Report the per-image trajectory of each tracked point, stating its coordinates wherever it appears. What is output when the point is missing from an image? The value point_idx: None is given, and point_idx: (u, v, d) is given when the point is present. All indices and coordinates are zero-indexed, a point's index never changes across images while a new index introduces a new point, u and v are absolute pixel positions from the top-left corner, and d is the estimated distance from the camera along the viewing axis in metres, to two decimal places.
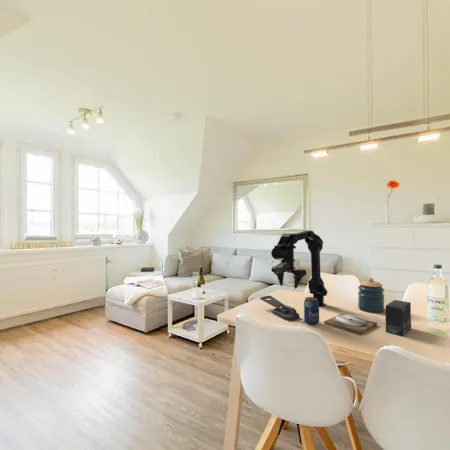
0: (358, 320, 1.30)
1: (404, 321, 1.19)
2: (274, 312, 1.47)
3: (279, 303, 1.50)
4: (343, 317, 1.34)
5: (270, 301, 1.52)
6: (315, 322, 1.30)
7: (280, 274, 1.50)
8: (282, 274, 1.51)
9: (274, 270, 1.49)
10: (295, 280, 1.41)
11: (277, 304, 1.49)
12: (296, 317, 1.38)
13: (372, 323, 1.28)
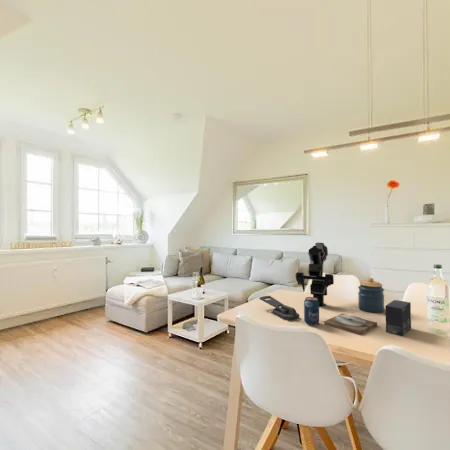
0: (358, 320, 1.30)
1: (404, 321, 1.19)
2: (274, 312, 1.47)
3: (278, 303, 1.50)
4: (343, 317, 1.34)
5: (269, 301, 1.52)
6: (315, 322, 1.30)
7: None
8: (304, 283, 1.47)
9: (300, 274, 1.46)
10: (325, 283, 1.40)
11: (276, 304, 1.49)
12: (296, 317, 1.39)
13: (372, 323, 1.28)
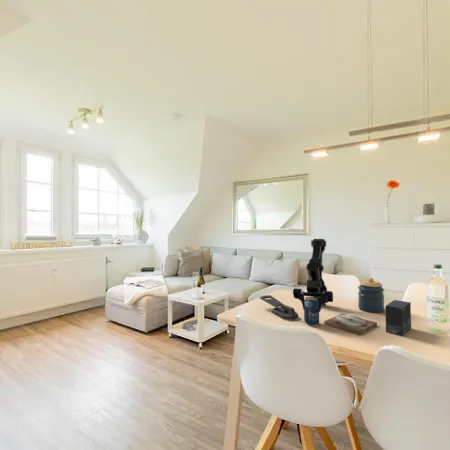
0: (358, 320, 1.30)
1: (404, 321, 1.19)
2: (273, 311, 1.48)
3: (278, 303, 1.51)
4: (343, 317, 1.34)
5: (269, 300, 1.53)
6: (315, 322, 1.30)
7: None
8: (304, 300, 1.38)
9: (298, 290, 1.38)
10: (321, 301, 1.32)
11: (276, 303, 1.50)
12: (295, 316, 1.39)
13: (372, 323, 1.28)
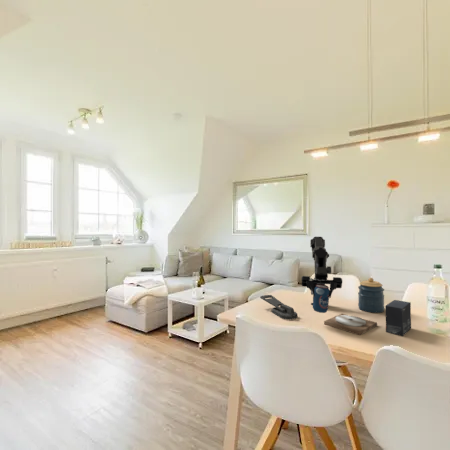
0: (358, 320, 1.30)
1: (404, 321, 1.19)
2: (273, 311, 1.49)
3: (278, 302, 1.52)
4: (343, 317, 1.34)
5: (270, 300, 1.54)
6: (325, 309, 1.29)
7: None
8: None
9: (306, 278, 1.36)
10: (331, 287, 1.31)
11: (276, 303, 1.50)
12: (294, 316, 1.40)
13: (372, 323, 1.28)
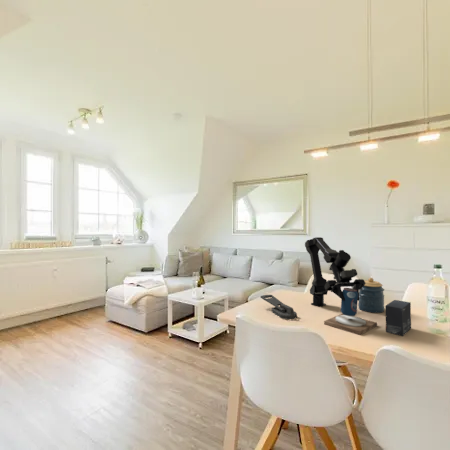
0: (358, 320, 1.30)
1: (404, 321, 1.19)
2: (273, 311, 1.49)
3: (278, 302, 1.52)
4: (343, 317, 1.34)
5: (270, 300, 1.55)
6: (356, 313, 1.29)
7: None
8: None
9: (333, 282, 1.32)
10: (357, 290, 1.32)
11: (276, 303, 1.51)
12: (293, 316, 1.40)
13: (372, 323, 1.28)
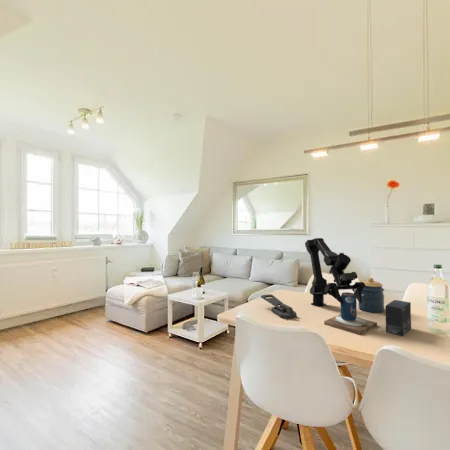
0: (358, 320, 1.30)
1: (404, 321, 1.19)
2: (272, 310, 1.50)
3: (278, 302, 1.53)
4: None
5: (270, 299, 1.55)
6: (355, 317, 1.29)
7: None
8: None
9: (334, 285, 1.32)
10: (360, 293, 1.32)
11: (276, 303, 1.51)
12: (293, 316, 1.40)
13: (372, 323, 1.28)
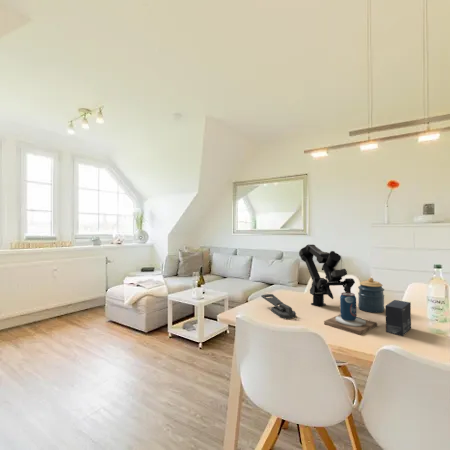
0: (358, 320, 1.30)
1: (404, 321, 1.19)
2: (272, 310, 1.51)
3: (278, 301, 1.54)
4: None
5: (270, 299, 1.56)
6: (355, 317, 1.29)
7: None
8: None
9: (325, 281, 1.41)
10: (349, 288, 1.41)
11: (276, 302, 1.52)
12: (292, 315, 1.41)
13: (372, 323, 1.28)
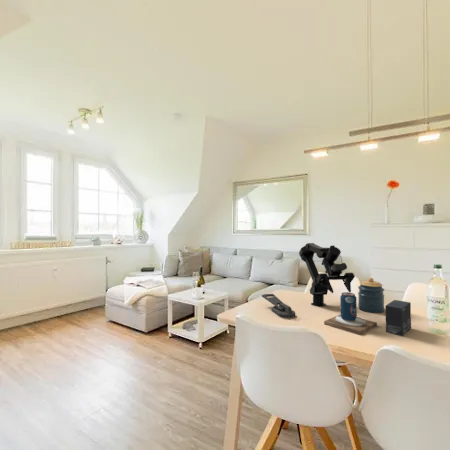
0: (358, 320, 1.30)
1: (404, 321, 1.19)
2: (272, 309, 1.51)
3: (278, 301, 1.54)
4: None
5: (270, 299, 1.57)
6: (355, 317, 1.29)
7: None
8: None
9: (325, 275, 1.41)
10: (349, 282, 1.41)
11: (276, 302, 1.53)
12: (291, 315, 1.41)
13: (372, 323, 1.28)
